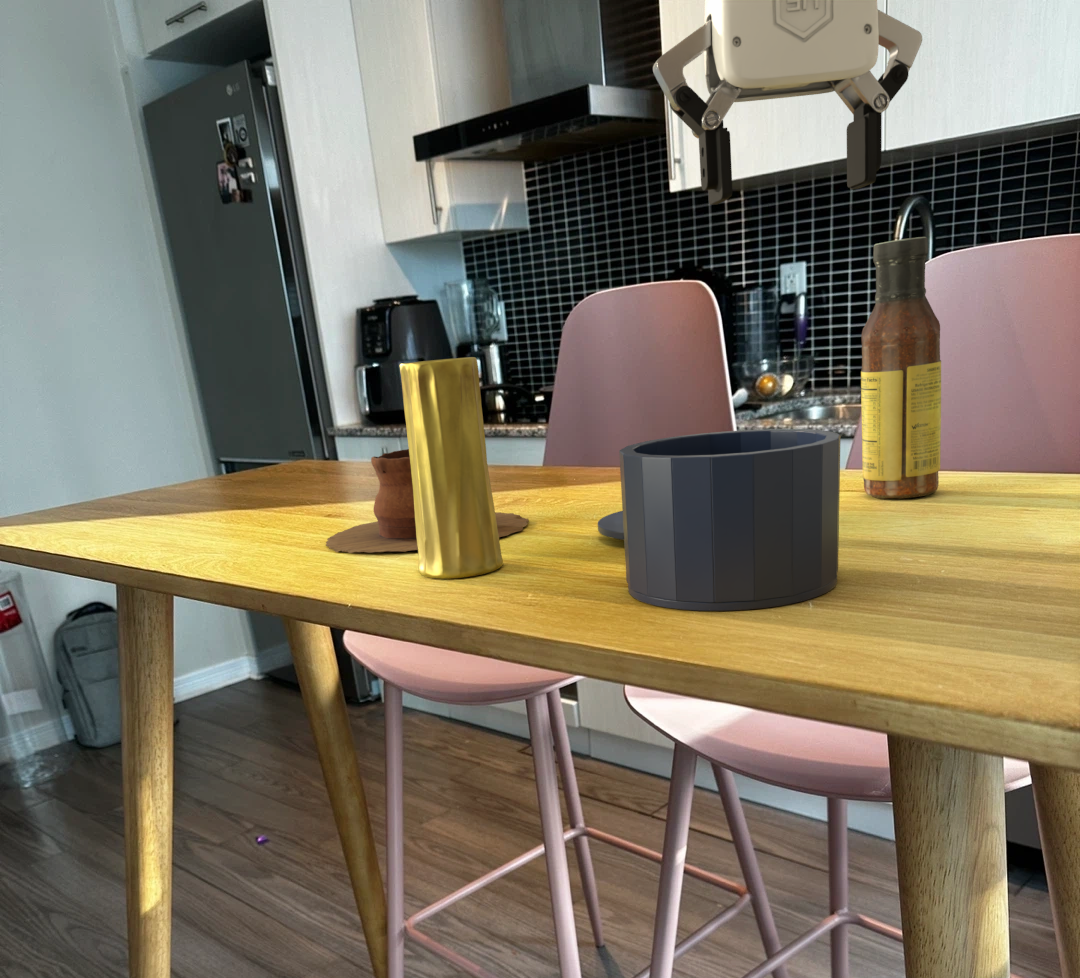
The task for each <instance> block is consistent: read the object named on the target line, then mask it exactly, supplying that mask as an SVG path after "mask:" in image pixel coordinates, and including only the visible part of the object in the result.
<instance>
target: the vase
mask: <svg viewBox="0 0 1080 978" xmlns="http://www.w3.org/2000/svg"><path fill="white" fill-rule="evenodd" d="M399 372H400V380H401V389H402V390H401V391H402V399H403V400H402V401H403V411H404V419H405V424H406V425H405V427H406V434H407V435H406V436H407V445H408V449H409V455H410V464H411V474H412V483H413V494H414V510H415V523H416V537H417V546H418V550H417V554H418V555H417V556H418V568H417V569H418V571H417V572H418V573H419V574H420V575H421V576H423V577H425V578H430V579H443V580H445V579H446V580H447V579H451V580H452V579H463V578H469V577H476V576H477V577H478V576H481V575H486V574H489V573H492V572H494V571H497V570H499V569H500V568H501V567H502V566H503V565H504V559H503V555H502V550H501V549H502V548H501V543H500V537H499V535H498V529H497V522H496V515H495V512H496V511H495V510H496V509H495V503H494V502H495V501H494V497H493V496H494V495H493V491H492V483H491V479H490V473H489V466H488V457H487V455H488V454H487V445H486V433H485V427H484V416H483V407H482V395H481V385H480V374H479V363H478V359H477V358H476V357H474V356H470V357H468V356H467V357H458V358H443V359H434V360H433V359H432V360H423V361H412V362H404V363H399Z"/></svg>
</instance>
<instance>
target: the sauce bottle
mask: <svg viewBox="0 0 1080 978" xmlns="http://www.w3.org/2000/svg"><path fill="white" fill-rule="evenodd" d="M928 241H929V239H928V238H927V237H926V236H918V237H909V238H901V239H895V240H894V239H893V240H890V241H884V242H879V243H875V244H874V245H873V255H872V256H873V257H872V260H873V263H874V267H875V296H874V302H875V303H874V304H875V305H874V306H873V309H872V312H871V313H870V315H869V317H868V319H867V321H866V322H865V324H864V327H863V328H862V331H861V336H860V337H861V369H860V370H861V371H860V387H861V388H860V391H861V392H860V396H861V398H860V399H861V400H860V401H861V403H860V404H861V407H860V408H861V448H862V449H861V455H862V458H861V459H862V461H861V464H862V465H861V467H862V479H863V489H864V490H863V491H864V492H865V493H866V495H867V496H870V497H873V498H876V499H878V500H879V499H880V500H881V499H899V500H900V499H901V500H902V499H903V500H904V499H909V498H910V499H911V498H919V497H925V496H928V495H931V494H935V493H936V492H937V491H938V488H939V484H940V483H939V481H940V480H939V478H940V477H939V472H940V470H941V451H942V450H941V446H942V444H941V443H942V442H941V441H942V439H941V436H942V434H941V432H942V360H941V324H940V321H939V319H938V318H937V315H936V314H935V312H934V310H933V308H932V306H931V304H930V302H929V300H928V299H927V296H926V293H927V289H926V284H925V283H926V260H927V257H928V254H929V244H928Z"/></svg>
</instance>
